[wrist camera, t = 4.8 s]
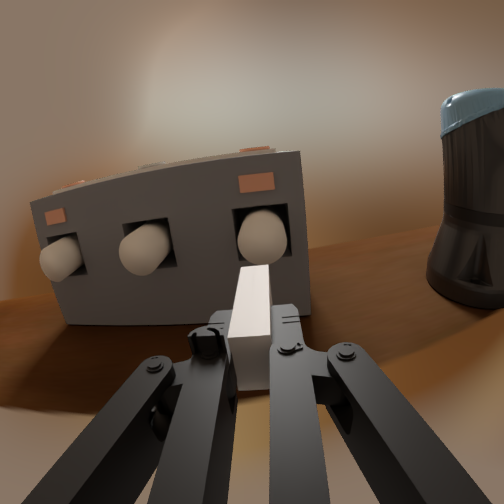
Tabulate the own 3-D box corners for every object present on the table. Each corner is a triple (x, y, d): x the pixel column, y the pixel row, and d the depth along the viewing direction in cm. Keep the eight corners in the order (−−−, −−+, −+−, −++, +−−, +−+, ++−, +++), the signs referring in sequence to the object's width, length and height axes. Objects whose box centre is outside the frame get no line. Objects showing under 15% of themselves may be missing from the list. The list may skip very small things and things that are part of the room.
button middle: (179, 253, 31) (172, 216, 29) (163, 274, 26) (153, 230, 24) (145, 256, 31) (137, 221, 30) (124, 277, 26) (114, 236, 25)
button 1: (95, 262, 32) (86, 229, 30) (70, 281, 26) (59, 244, 25) (71, 264, 32) (62, 234, 31) (46, 282, 27) (35, 248, 25)
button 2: (284, 242, 30) (281, 203, 29) (288, 262, 25) (284, 215, 23) (245, 246, 30) (240, 207, 29) (241, 267, 25) (234, 221, 24)
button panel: (301, 278, 38) (290, 144, 32) (311, 316, 29) (299, 142, 24) (97, 293, 40) (70, 184, 35) (65, 325, 31) (27, 196, 26)
